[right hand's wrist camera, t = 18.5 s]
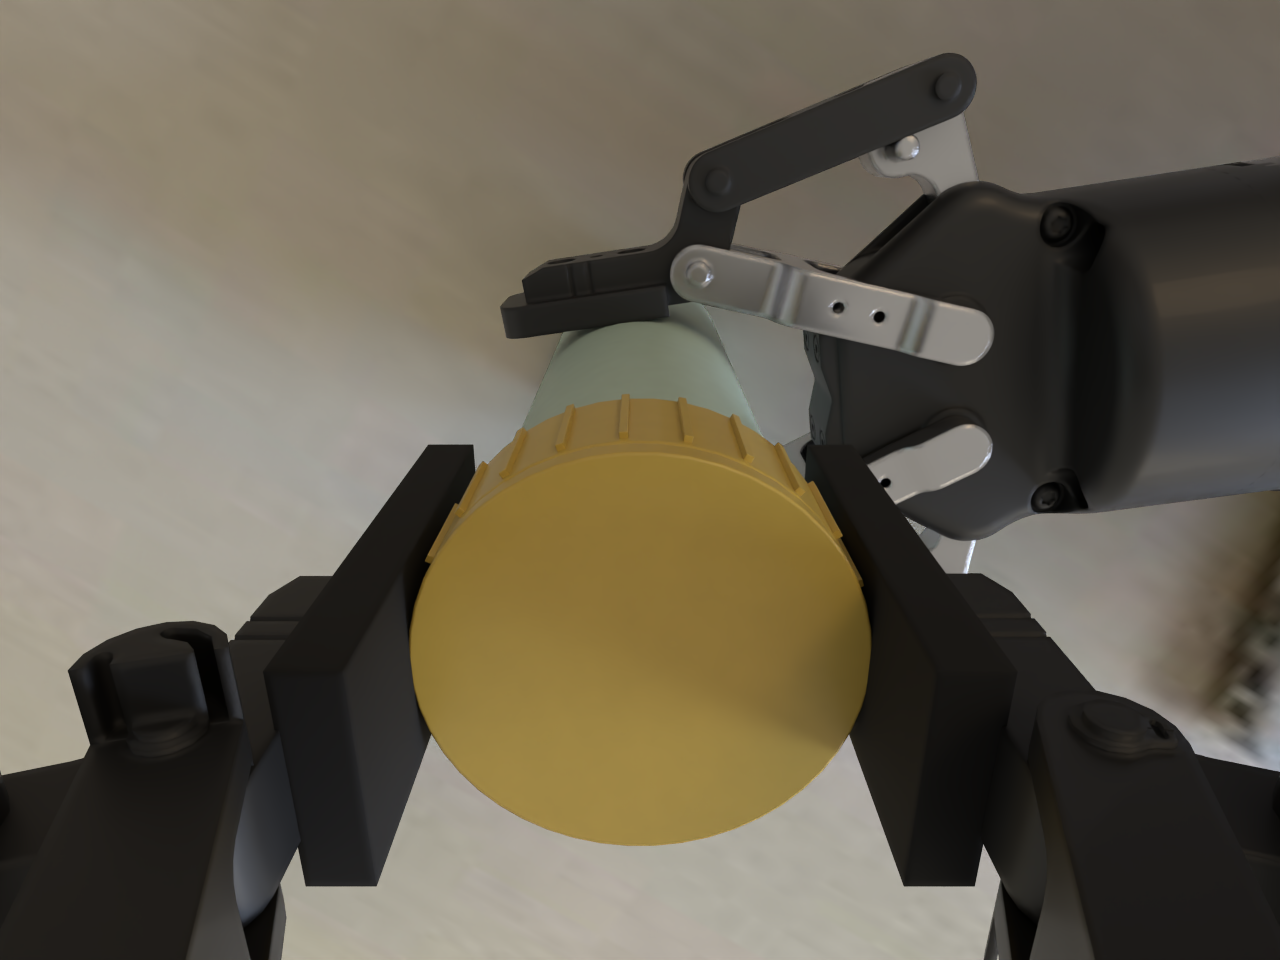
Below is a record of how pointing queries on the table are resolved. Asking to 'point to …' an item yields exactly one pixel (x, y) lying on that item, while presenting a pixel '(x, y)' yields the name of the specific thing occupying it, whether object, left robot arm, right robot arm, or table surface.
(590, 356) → the jar
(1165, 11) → the table surface
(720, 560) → the lid
